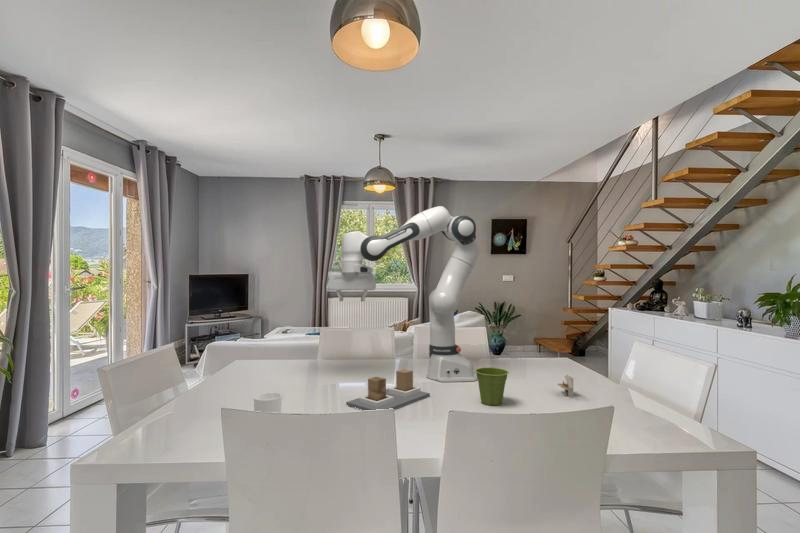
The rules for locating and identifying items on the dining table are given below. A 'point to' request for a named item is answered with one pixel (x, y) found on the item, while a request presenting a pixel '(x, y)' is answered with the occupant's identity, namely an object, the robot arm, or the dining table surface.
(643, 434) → the dining table surface
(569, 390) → the architectural model
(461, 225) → the robot arm
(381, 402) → the baseplate
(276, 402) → the white cup
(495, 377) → the plant pot
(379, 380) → the walnut block
